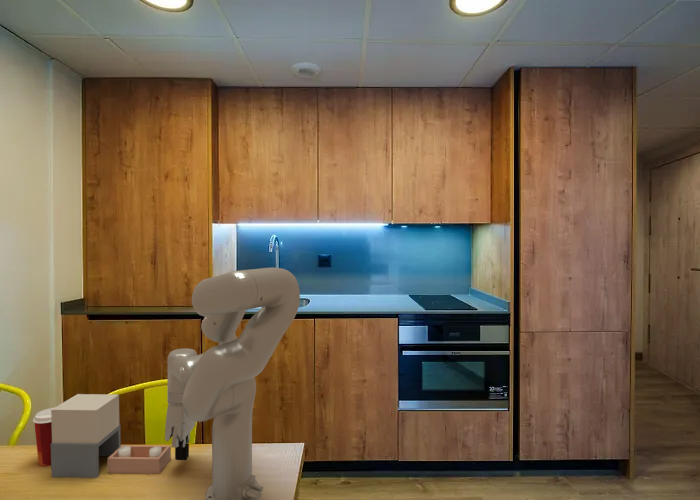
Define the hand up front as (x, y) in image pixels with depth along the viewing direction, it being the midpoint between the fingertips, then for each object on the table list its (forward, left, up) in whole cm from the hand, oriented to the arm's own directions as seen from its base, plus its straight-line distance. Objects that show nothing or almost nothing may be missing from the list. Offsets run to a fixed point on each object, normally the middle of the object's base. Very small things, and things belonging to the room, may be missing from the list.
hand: (182, 458), depth 115 cm
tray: (+10, +5, -2) cm, 12 cm away
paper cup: (+35, +15, -2) cm, 38 cm away
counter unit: (+23, +12, -2) cm, 26 cm away
